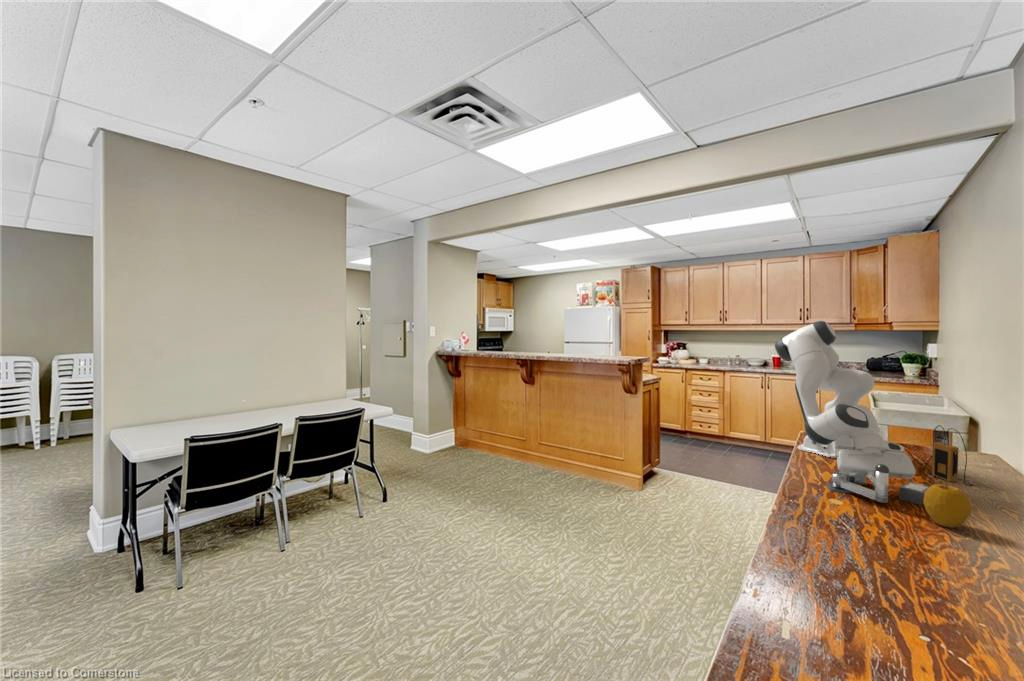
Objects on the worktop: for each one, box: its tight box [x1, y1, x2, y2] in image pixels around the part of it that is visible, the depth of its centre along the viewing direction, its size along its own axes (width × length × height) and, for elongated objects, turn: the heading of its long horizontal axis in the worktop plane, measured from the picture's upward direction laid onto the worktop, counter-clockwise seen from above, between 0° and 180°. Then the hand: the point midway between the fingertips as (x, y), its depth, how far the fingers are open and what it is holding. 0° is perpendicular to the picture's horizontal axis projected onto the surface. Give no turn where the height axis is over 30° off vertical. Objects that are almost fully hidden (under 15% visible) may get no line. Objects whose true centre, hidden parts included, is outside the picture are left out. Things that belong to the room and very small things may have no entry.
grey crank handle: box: [831, 464, 890, 504], centre depth 144 cm, size 18×4×12 cm, turn 13°
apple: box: [923, 483, 973, 529], centre depth 124 cm, size 10×10×12 cm
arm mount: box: [825, 482, 853, 495], centre depth 151 cm, size 6×6×1 cm
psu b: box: [834, 469, 867, 486], centre depth 157 cm, size 6×10×4 cm, turn 123°
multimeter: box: [923, 424, 975, 487], centre depth 162 cm, size 15×10×20 cm
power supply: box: [898, 481, 932, 506], centre depth 143 cm, size 6×10×4 cm, turn 123°
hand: (880, 486), depth 139 cm, fingers closed
